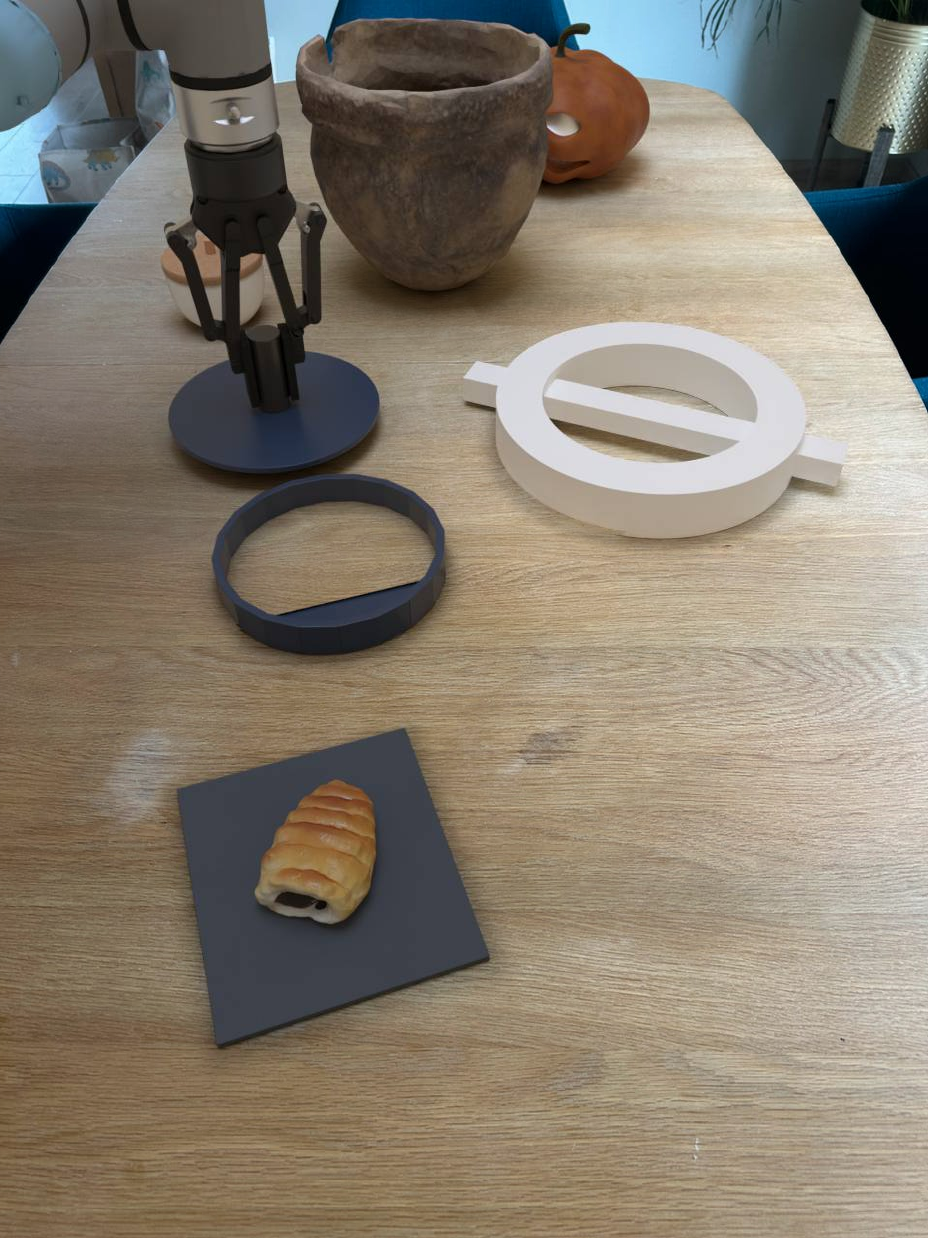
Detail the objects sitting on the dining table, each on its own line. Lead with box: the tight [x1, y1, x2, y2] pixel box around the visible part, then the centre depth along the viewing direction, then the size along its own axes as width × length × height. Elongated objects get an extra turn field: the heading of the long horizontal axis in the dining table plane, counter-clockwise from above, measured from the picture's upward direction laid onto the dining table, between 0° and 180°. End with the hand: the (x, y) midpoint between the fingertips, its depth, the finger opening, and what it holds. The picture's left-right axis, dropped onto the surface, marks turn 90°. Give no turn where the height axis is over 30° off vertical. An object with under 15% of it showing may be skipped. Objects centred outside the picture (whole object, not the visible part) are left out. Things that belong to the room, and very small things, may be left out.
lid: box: [167, 324, 381, 474], centre depth 92 cm, size 20×20×9 cm
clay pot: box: [295, 17, 554, 292], centre depth 109 cm, size 26×26×25 cm
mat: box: [176, 727, 491, 1049], centre depth 63 cm, size 18×16×1 cm
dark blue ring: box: [211, 473, 447, 656], centre depth 82 cm, size 19×19×3 cm
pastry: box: [255, 780, 376, 924], centre depth 62 cm, size 9×7×4 cm
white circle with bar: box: [462, 321, 850, 540], centre depth 93 cm, size 28×28×5 cm
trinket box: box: [160, 233, 266, 328], centre depth 109 cm, size 11×11×9 cm
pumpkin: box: [542, 22, 651, 185], centre depth 135 cm, size 25×25×19 cm
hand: (273, 395), depth 94 cm, fingers closed on lid, 3 cm apart
